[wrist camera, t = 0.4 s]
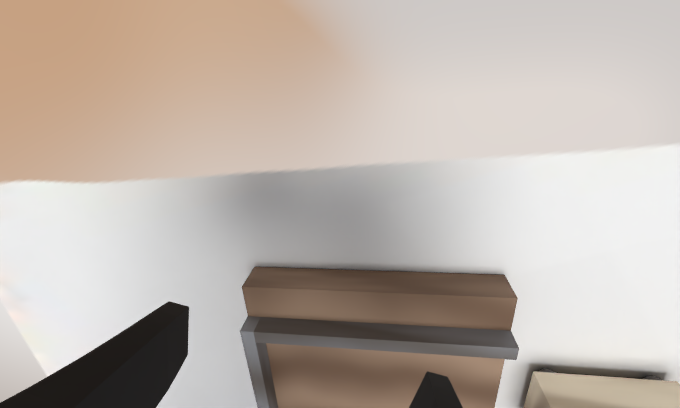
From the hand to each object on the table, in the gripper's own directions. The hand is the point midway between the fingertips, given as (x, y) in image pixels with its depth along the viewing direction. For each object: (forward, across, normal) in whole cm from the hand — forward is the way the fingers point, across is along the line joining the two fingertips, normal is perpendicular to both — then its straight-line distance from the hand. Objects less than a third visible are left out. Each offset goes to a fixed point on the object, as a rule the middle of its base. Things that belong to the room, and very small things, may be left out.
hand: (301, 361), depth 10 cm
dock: (+10, -4, +10) cm, 14 cm away
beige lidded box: (+10, -18, +8) cm, 22 cm away
